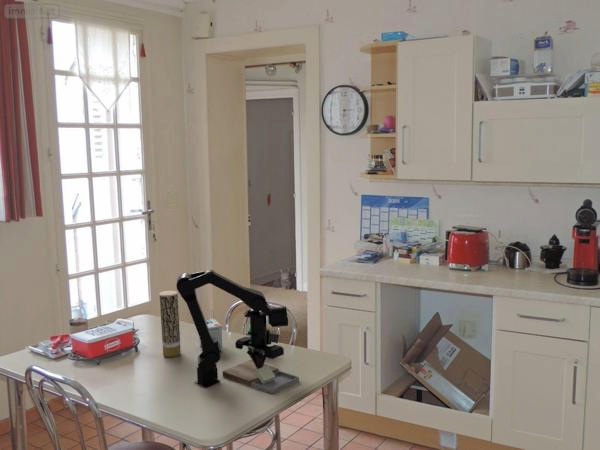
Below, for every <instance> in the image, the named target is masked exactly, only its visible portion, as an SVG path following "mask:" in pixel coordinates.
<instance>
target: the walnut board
mask: <svg viewBox="0 0 600 450" xmlns="http://www.w3.org/2000/svg"><path fill="white" fill-rule="evenodd" d="M265 366H269V368H270V369H271V371H272V372H273V373H274V372H276V371H278V370H279V368H278V367H274V366H271V365H268V364H265V363H264V365H263V367H265ZM256 370H257V368H256V366H255V364H254V362H253V360H252V359H249V360H246V361H245V362H244V361H243V362H241V363H239V364H237V365H234V366H232V367H229V368H227V369H225V370H222V377H224V378H225V379H229V380H232V381H234V382H237V383H239V384H243V385H245V386H247V387H251V382H253V381H255V380H258V379H259V378H258V377H257V376H256V374H255V372H256Z"/></svg>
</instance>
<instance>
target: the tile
mask: <svg viewBox="0 0 600 450" xmlns="http://www.w3.org/2000/svg"><path fill="white" fill-rule="evenodd" d="M269 366H270V365H269ZM269 366H265V367H262V368H259V369H257V370H256V372H255V374H256V376H257V377H258V378H259V380H260V381H261V383H262V384H264V383H267V382H270V381H273V380H274V379H275V377H276V376H275V375H274V373H273V372H272V371H271V369H270V368H269Z"/></svg>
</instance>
